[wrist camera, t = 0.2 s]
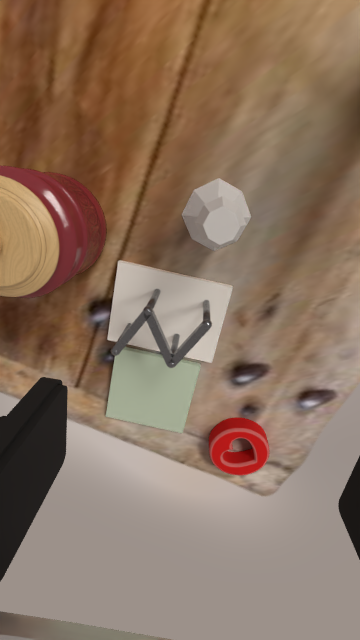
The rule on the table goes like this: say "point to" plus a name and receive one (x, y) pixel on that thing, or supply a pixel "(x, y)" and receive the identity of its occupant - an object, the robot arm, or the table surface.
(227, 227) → the faceted bottle
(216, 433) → the decorative ornament
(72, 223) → the canister
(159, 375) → the pale green flat panel
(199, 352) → the wire board
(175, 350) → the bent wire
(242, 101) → the table surface
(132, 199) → the table surface
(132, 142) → the table surface
